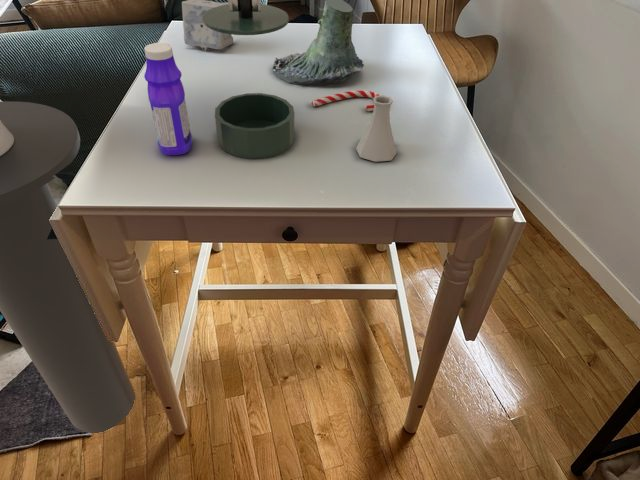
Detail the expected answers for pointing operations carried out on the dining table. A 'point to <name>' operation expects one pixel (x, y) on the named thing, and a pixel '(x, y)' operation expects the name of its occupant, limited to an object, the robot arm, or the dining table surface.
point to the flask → (378, 133)
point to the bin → (255, 125)
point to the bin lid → (245, 19)
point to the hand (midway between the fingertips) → (245, 10)
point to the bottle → (167, 100)
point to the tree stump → (324, 51)
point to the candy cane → (346, 95)
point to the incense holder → (202, 26)
